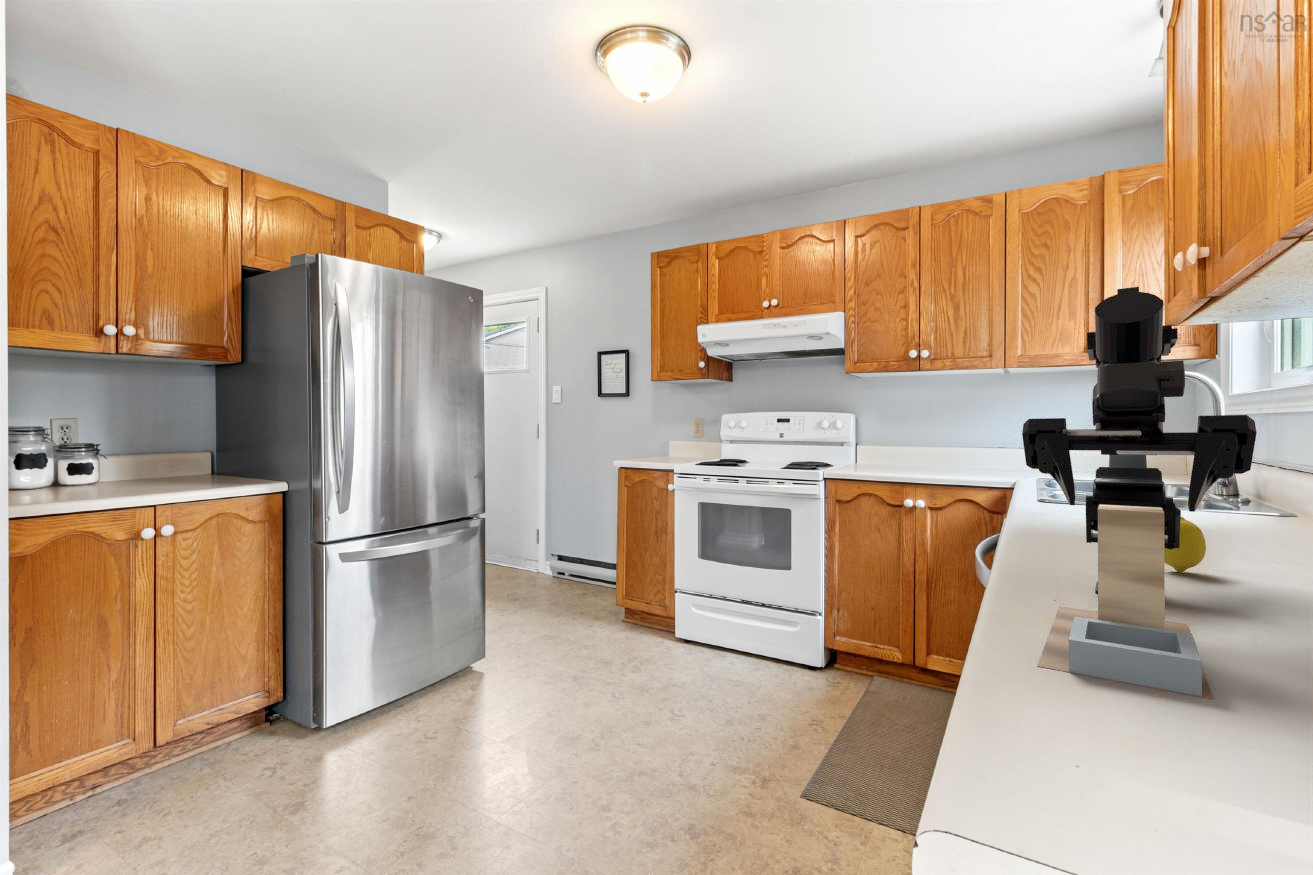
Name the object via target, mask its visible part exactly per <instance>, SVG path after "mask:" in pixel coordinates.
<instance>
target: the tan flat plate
mask: <svg viewBox="0 0 1313 875" xmlns="http://www.w3.org/2000/svg"><path fill="white" fill-rule="evenodd" d="M1075 617H1082V618H1089V619H1096V620H1098V610H1089V609H1082V608H1075V607H1074V608H1073V607H1067V606H1061V605H1060V606H1059V607H1058V609H1057V611H1056V615H1055V617H1054V619H1053V623H1052V626H1051V628H1050V631H1049V632H1048V636H1047V638H1046V641H1045V645H1044V646H1043V649H1042V651H1041V655H1040V656H1039V657H1040V658H1039V660H1038V662H1037V667H1038V668H1041V669H1048V670H1053V671H1058V672H1063V673H1068V674H1075V675H1079V676H1085V677H1091V678H1096V679H1101V680H1105V681H1110V682H1116V683H1117V682H1118V683H1123V684H1127V685H1133V686H1137V687H1141V688H1142V687H1143V688H1148V689H1154V690H1157V691H1158V690H1160V691H1164V692H1168V693H1169V692H1170V693H1175V694H1180V695H1184V696H1185V695H1186V696H1190V697H1196V698H1201V699H1206V700H1212V701H1214V697H1213V695H1212V691H1211V688H1210V685H1209V683H1208V679H1207V676H1206V674H1205V672H1204V671H1205V670H1204V668H1203V667H1202V697H1201V696H1196V695H1191V694H1185V693H1180V692H1175V691H1169V690H1164V689H1159V688H1153V687H1148V686H1143V685H1137V684H1132V683H1127V682H1121V681H1116V680H1111V679H1105V678H1100V677H1095V676H1090V675H1084V674H1079V673H1074V672H1069V636H1070V632H1071V629H1072V625H1073V621H1074V618H1075ZM1165 629H1166V630H1173V631H1180V632H1187V633H1191V630H1190V628H1189V624H1188V623H1186V622H1185V623H1184V622H1177V621H1172V620H1171V621H1170V620H1169V621H1168V620H1165Z"/></svg>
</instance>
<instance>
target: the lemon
mask: <svg viewBox="0 0 1313 875" xmlns="http://www.w3.org/2000/svg"><path fill="white" fill-rule="evenodd" d="M1164 538H1165V535H1164ZM1206 550H1207V544H1206V538H1205V535H1204V534H1203V531H1202V530H1201V528H1200V527H1199V526H1198V525H1197V524H1195V523H1194V522H1192V521H1190V520H1187V519H1185V517H1183V516H1181V519H1180V548H1173V550H1172V549H1167V548H1164V564H1166V565H1168V566H1169V567H1171V568H1173V569H1174V571H1176V572H1177V571H1179V572H1178V573H1184V572H1185V571H1187V570H1188V569H1190V568H1194V567H1196V566H1198V565H1200V563H1201V562H1202V561H1203V560H1204V558H1205V555H1206Z"/></svg>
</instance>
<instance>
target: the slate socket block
mask: <svg viewBox="0 0 1313 875" xmlns="http://www.w3.org/2000/svg"><path fill="white" fill-rule="evenodd" d="M1202 664H1203V662H1202V658H1201V656H1200V652H1199V650H1198V646H1197V645H1196V641H1195V638H1194V635H1193V633H1192V632H1190V633H1187V632H1180V631H1173V630H1166V629H1159V628H1152V627H1145V626H1138V625H1131V624H1124V623H1117V622H1110V621H1103V620H1096V619H1089V618H1082V617H1075V618H1074V621H1073V625H1072V629H1071V632H1070V636H1069V672H1074V673H1079V674H1084V675H1090V676H1095V677H1100V678H1105V679H1111V680H1116V681H1121V682H1127V683H1132V684H1137V685H1143V686H1148V687H1153V688H1159V689H1164V690H1169V691H1175V692H1180V693H1185V694H1191V695H1196V696H1201V697H1202V668H1203V666H1202ZM1079 674H1078V675H1079ZM1084 675H1083V676H1084ZM1100 678H1099V679H1100ZM1105 679H1104V680H1105ZM1116 681H1115V682H1116ZM1121 682H1120V683H1121ZM1132 684H1131V685H1132ZM1137 685H1136V686H1137ZM1153 688H1152V689H1153ZM1169 691H1168V692H1169ZM1185 694H1184V695H1185ZM1201 697H1200V698H1201Z"/></svg>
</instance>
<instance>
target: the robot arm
mask: <svg viewBox="0 0 1313 875" xmlns="http://www.w3.org/2000/svg"><path fill="white" fill-rule="evenodd" d="M1094 322H1095V323H1094V324H1095V325H1094V326H1095V327H1094V328H1095V331H1087V332H1086V338H1087V339H1086V344H1087V346H1086V347H1087V354H1088V360H1089V361H1095V367H1096V369H1097V374H1096V375H1097V380H1096V383H1095V385H1094V386H1093V388H1092V398H1091V400H1092V402H1091V404H1092V426H1093V427H1095V428H1092V429H1090V428H1088V429H1087V428H1086V429H1085V428H1084V429H1083V428H1082V429H1079V428H1077V429H1069V428H1067V419H1066V418H1065V417H1062V418H1061V417H1060V418H1057V417H1055V418H1051V417H1049V418H1028V419H1027V420H1026V421H1025V422H1024V423H1023V426H1022V431H1021V432H1022V434H1021V436H1022V444H1023V449H1024V450H1023V451H1024V457H1025V459H1024V460H1025V465H1026V466H1027V467H1028V468H1030V469H1032V470H1038V471H1039V472H1040V473H1042V474H1045V475H1046V474H1048V475H1050V476H1051V478H1052V479H1054V481H1055V482H1056V483H1057V484H1058V486H1059V487H1060V489H1061V490H1062V492H1063V494H1064V496H1065V499H1066V501H1067V502H1068V504H1069V505H1070V506H1075V505H1076V488H1075V481H1074V473H1073V466H1072V460H1071V453H1070V452H1071V451H1099V452H1100V454H1101V455H1103V456H1105V455H1106V456H1108V455H1109V458H1108V460H1109V461H1108V466H1099V467H1098V468H1097V469H1096V470H1095V478H1094V479H1093V482H1092V483H1093V485H1092V493H1085V534H1086V535H1085V536H1086V538H1085V539H1086V542H1085V543H1086V544H1088V543H1089V544H1092V543H1097V544H1098V507H1099V504H1100V505H1120V506H1139V507H1159V508H1162V509H1163V511H1164V535H1165V538H1164V548H1167V549H1172V550H1173V548H1180V519H1181V517H1182V511H1181V509H1180V508H1179V507H1177V506H1176V502H1174V498H1173V497H1174V496H1173V497H1172V496H1171V497H1170V496H1167V495H1166V486H1165V482H1164V480H1163V472H1162V471H1161V470H1160V469H1159V468H1158V467H1148V465H1147V464H1148V462H1147V456H1193V462H1192V467H1191V468H1192V469H1191V474H1190V481H1189V488H1188V498H1187V507H1188V511H1189V512H1192V513H1195V512H1196V511H1197V509H1198V507H1199V505H1200V503H1201V502H1202V500H1203V499H1204V496H1205V495H1206V493H1207V491H1208V490H1210V488H1211V487H1212V486H1213V485H1214V484H1215V483H1217V481H1218V480H1220V479H1230V478H1232V477H1233V476H1234V475H1237V474H1238V475H1243V474H1245V473H1247V472H1250V471H1251V468H1252V463H1253V462H1252V461H1253V456H1254V451H1255V445H1256V438H1257V428H1256V422H1255V419H1253V418H1251V417H1250V416H1249V415H1247V414H1225V415H1224V414H1221V415H1220V414H1219V415H1217V414H1216V415H1214V414H1213V415H1198V416H1197V429H1196V432H1195V431H1194V432H1191V431H1190V432H1181V431H1180V432H1164V423H1166V404H1165V402H1166V401H1165V398H1182V397H1184V394H1185V387H1186V373H1185V370H1186V369H1185V364H1184V363H1185V362H1184V360H1170V361H1162V357H1166V356H1170V354H1171V353H1172V351H1171V350H1172V349H1173V348H1174V347H1175V345H1177V342H1178V339H1179V337H1178V336H1179V334H1178V333H1179V332H1178V329H1179V328H1175V327H1174V328H1173V327H1172V324H1166V325H1163V324H1164V300H1163V299H1162V298H1160V297H1159V296H1157V295H1155V294H1153V293H1150V292H1143V291H1140V286H1132V287H1131V286H1130V287H1124V288H1117V289H1116V294H1114V295H1111V296H1109V297H1107V298H1105V299H1103V300H1102V301H1100V302H1099V303H1098V304H1097V305H1096V306H1095V308H1094ZM1094 531H1095V533H1094ZM1094 593H1095V594H1097V595H1098V580H1097V581H1096V583H1095V588H1094Z"/></svg>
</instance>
